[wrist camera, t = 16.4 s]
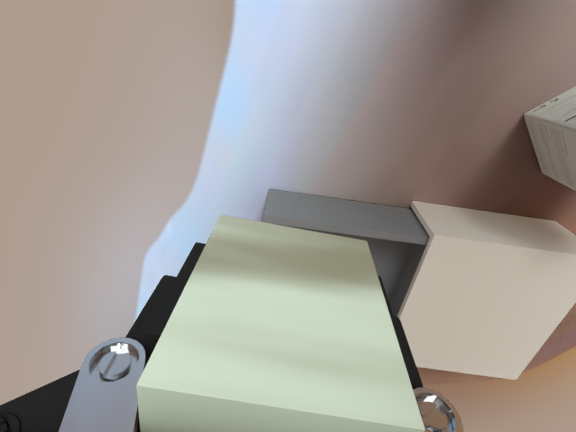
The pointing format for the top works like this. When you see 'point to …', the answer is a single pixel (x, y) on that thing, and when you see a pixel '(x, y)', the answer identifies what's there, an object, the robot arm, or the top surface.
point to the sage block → (278, 340)
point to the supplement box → (555, 137)
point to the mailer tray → (359, 232)
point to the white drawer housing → (487, 290)
